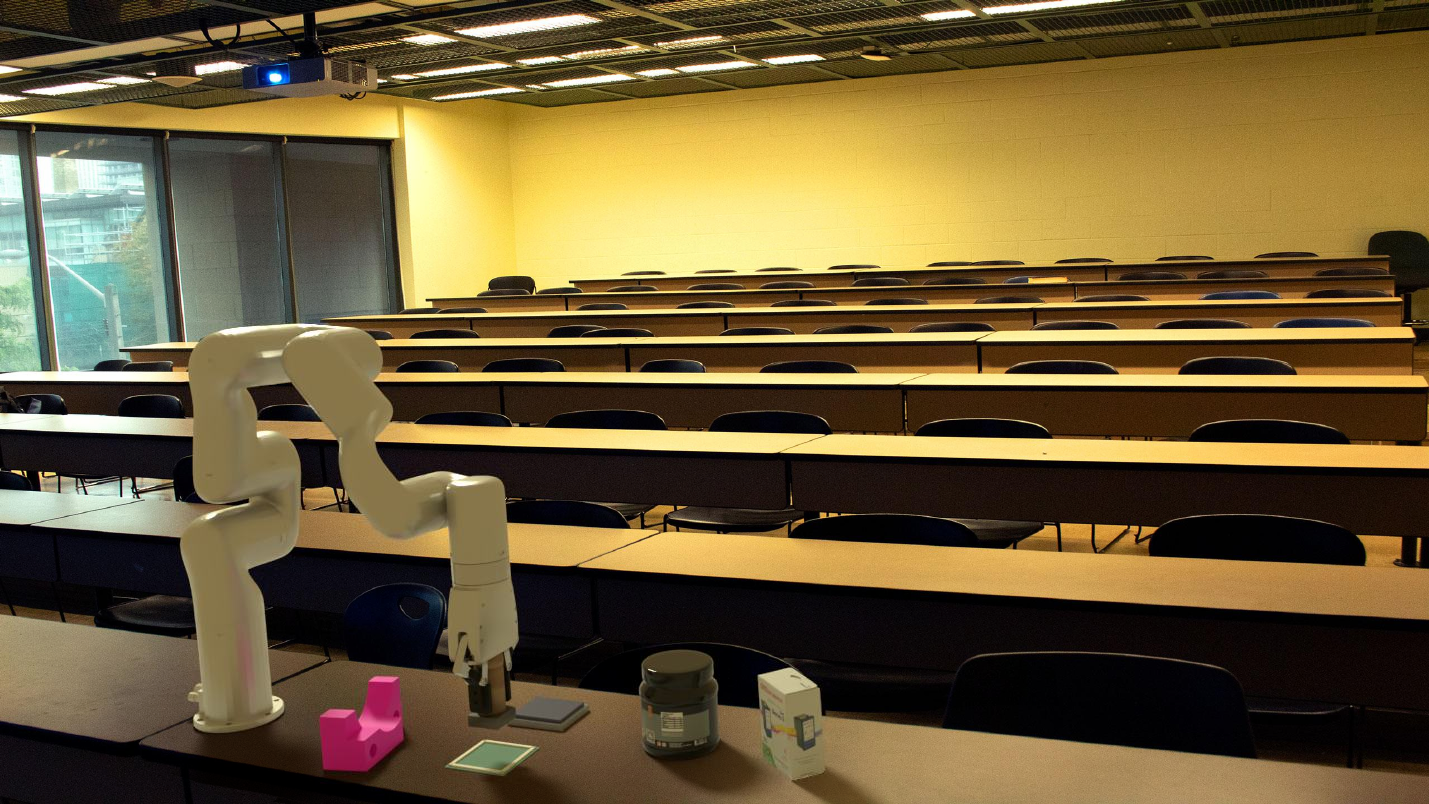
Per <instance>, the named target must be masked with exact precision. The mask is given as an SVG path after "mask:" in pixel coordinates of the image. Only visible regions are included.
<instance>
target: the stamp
mask: <svg viewBox="0 0 1429 804" xmlns="http://www.w3.org/2000/svg"><path fill="white" fill-rule="evenodd" d="M473 659H474V656H473ZM503 662H504V657H503V653H502V652H501V653H500V654H498V655H496V656H495V657H493V658H492V659H490V660H488V675H487V683H489V684H491V695H492V709H493V711H492V713H490V714H480V713H472V712H470V713H469V714H468V715H467V722H468V723H467V724H468V727H471V728H477V729H487V730H493V731H494V730H495V731H499V730H500V729H502V728H503V727H504V726H505V725H506V726H507V723H509V722H510V721H511V720H513V719H514V718H516V710H517V709H516V706H515V705H507V702H506V698H505V683H504V668H503ZM473 669H475V670H476V671H477V672H478V673H479V666H473Z"/></svg>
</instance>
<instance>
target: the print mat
mask: <svg viewBox="0 0 1429 804" xmlns="http://www.w3.org/2000/svg"><path fill="white" fill-rule="evenodd" d="M540 749H541V747H540V746H534V745H526V744H520V743H512V742H505V741H499V740H498V741H497V740H491V739H482V740H481V741H479V742H478V743H475V745H473V746H472V747H471V748H469V749H468V750H466V751H465V752H464V753H461V755H459V756H458V757H456V758H455V759H453V760H452V761H450V762H449V763H448V764H446V765H445V766H444V768H445V769H449V770H450V769H451V770H458V771H464V772H472V773H479V774H486V775H493V776H500V777H504V776H506V775H507V774H508V773H510V772H511V771H512V770H514V769H515V768H516V767H518V766H519V765H520V764H522V763H523V762H524V761H525V760H527V759H528V758H529V757H530V756H532V755H533V754H534V753H536V752H537V751H539V750H540Z"/></svg>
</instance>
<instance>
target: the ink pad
mask: <svg viewBox="0 0 1429 804" xmlns="http://www.w3.org/2000/svg"><path fill="white" fill-rule="evenodd" d="M589 711H590V705H589V704H587V703H585V702H584V701H578V700H570V699H563V698H554V697H544V696H537V695H536V696H535V697H534V698H532V699H530V701H528V702H527V703H525V704H523V705H521V707H519V708H518V709H516V718H514V719H513V720H511V721H510V722H509V723H507V724H506V726H515V727H522V728H531V729H539V730H547V731H555V732H563V731H565V730H566V729H567V728H568V727H570V726H571V725H572V724H573V723H574V724H575V722H576V721H578V720H579V719H580V718H581V717H583V716H584V715H585V714H586V713H588V712H589Z"/></svg>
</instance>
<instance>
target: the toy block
mask: <svg viewBox="0 0 1429 804" xmlns="http://www.w3.org/2000/svg"><path fill="white" fill-rule="evenodd" d="M400 684H401V683H400V677H399V676H377V675H375V676H374V677H372V678H371V679H370V680H368V681H367V694H366V699H365V704H364V706H363V709H362V712H361V715H360V716H359V718H358V716H357V711H356V710H355V709H339V708H338V709H337V708H335V709H334V708H332V709H331V708H329V709H328V710H327V711H326V712H324V713H323V714H321V715H320V716H319V717H318V720H319V732H320V744H321V754H322V766H323V770H326V771H327V770H328V771H349V772H353V771H354V772H368V771H369V770H370V769H372V767H374V766H375V765H376V764H378V762H380V761H381V760H382V759H383V758H385V757H386V756H387V754H389V753H390V752H391V751H393V750H394V749H395V748H396V747H397V746H398V745H399V744H400V743H402V742H403V741H404V739H405V738H404V728H403V727H404V724H403V710H402V699H401V696H402V695H401V685H400Z"/></svg>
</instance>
